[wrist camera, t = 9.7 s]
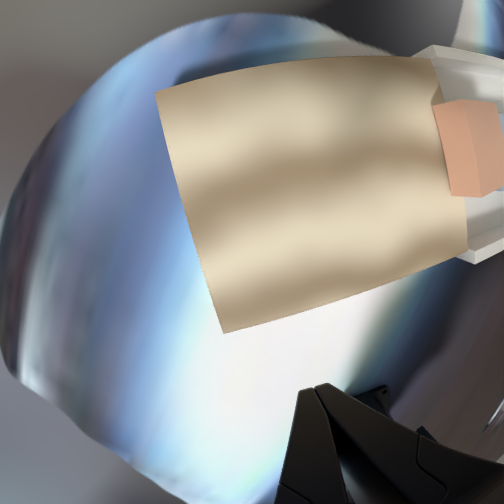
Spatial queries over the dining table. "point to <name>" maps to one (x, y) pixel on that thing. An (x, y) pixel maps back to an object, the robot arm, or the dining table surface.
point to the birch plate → (311, 181)
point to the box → (500, 92)
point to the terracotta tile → (471, 146)
